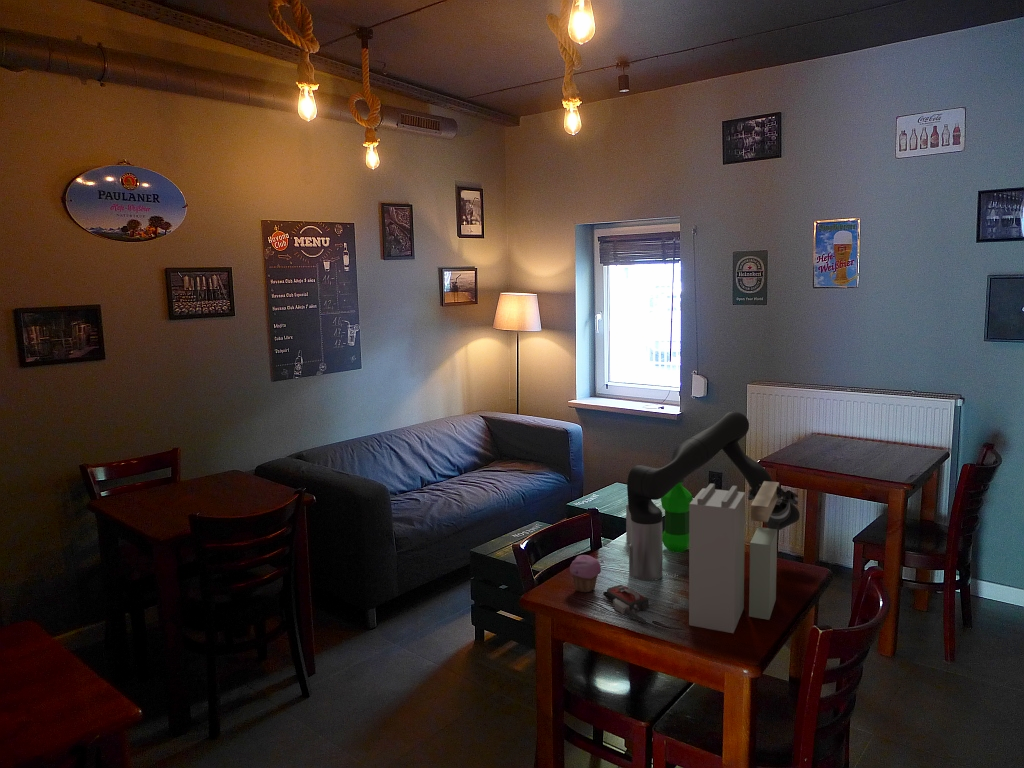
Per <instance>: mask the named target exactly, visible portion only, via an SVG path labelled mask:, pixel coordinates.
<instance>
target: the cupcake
mask: <svg viewBox="0 0 1024 768" xmlns="http://www.w3.org/2000/svg"><path fill="white" fill-rule="evenodd" d="M601 569H602V568H601V564H600V561H599V560H598V559H597V558H595V557H593V556H591V555H588V554H580V555H577V556H576V557H575V558H574V560H572V562H571V564H570V566H569V571H570V573H571V575H572V577H573V586H574V589H575V590H576V591H577V592H580V593H589V592H592V591H593V590H594V589H595V588H596V585H597V584H596V583H597V579H598V576H599V575H600V573H601V571H602V570H601Z"/></svg>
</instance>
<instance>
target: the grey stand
mask: <svg viewBox="0 0 1024 768" xmlns="http://www.w3.org/2000/svg"><path fill="white" fill-rule="evenodd" d="M745 522H746V492H744V491H738V485H732V486H731V487H730V489H729V490H727V489H726V490H725V489H716V484H715V483H709V484H708V486H707V487H705V488H704V487H703V488H701V490H700V491H699V492H698V493H697V494H696V495H695V497H693V500H692V501H691V502H690V504H689V548H688V551H689V552H688V556H689V557H688V565H689V567H688V572H689V573H688V575H689V577H688V626H691V627H697V628H701V629H702V628H703V629H707V630H712V631H718V632H723V633H724V632H725V633H731V634H734V633H735V631H736V628H737V626H738V624H739V620H740V618H741V617H742V614H743V611H744V610H745V609H744V608H745V606H744V605H745V603H744V602H745V599H744V598H745V545H746V544H745V541H746V540H745V537H746V536H745V532H746V531H745V529H746V523H745Z"/></svg>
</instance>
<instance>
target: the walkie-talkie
mask: <svg viewBox="0 0 1024 768" xmlns="http://www.w3.org/2000/svg"><path fill="white" fill-rule="evenodd" d="M602 594H603V597H606V600H608V601H609V602H611V603H612V604H613V605H614V610H616V611H618V613H620V614H622V615H629V616H630V617H633V618H634V619H635V620H638V621H640V622H641V623H644V624H646V623H647V620H646V619H645V618H643V617H641V616H639V615H638V614H636V613H637V612H640V611H646V610H647V609H649V599H648V598H647V597H645V596H644V595H642V594H640V593H639V592H638V591H636V590H634V589H633V588H629V587H628V586H626V585H624V584H623V585H622V584H618V585H615V586H611V587H608V588H606V591H603V593H602Z"/></svg>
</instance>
